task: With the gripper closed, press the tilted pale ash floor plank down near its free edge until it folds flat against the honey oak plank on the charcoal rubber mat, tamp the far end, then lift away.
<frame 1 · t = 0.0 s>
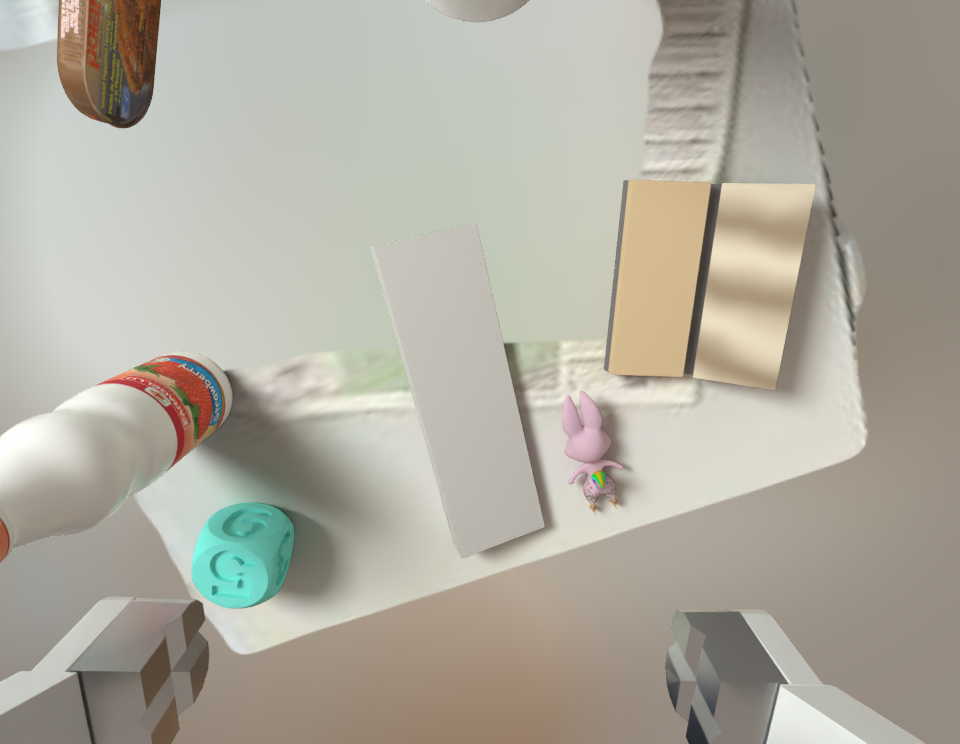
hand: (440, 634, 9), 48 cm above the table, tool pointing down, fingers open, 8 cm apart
fruit juice: (191, 391, 58), on the table
tin: (141, 44, 49), on the table
decorative molding: (463, 390, 60), on the table
ash plank: (749, 287, 53), point 3 cm above the table, hinge at 28.0°
laid floor: (695, 282, 56), on the table
rabbit figure: (586, 445, 61), on the table
decorative dice: (260, 531, 63), on the table
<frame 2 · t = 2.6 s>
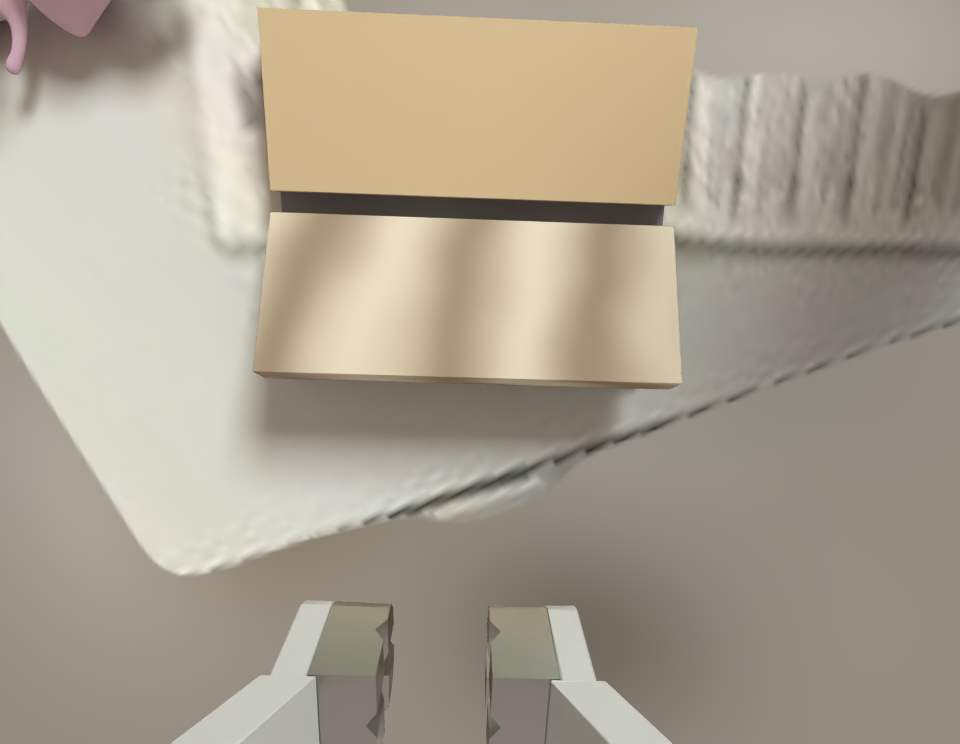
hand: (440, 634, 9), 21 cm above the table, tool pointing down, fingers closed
ash plank: (471, 301, 26), point 3 cm above the table, hinge at 28.0°
laid floor: (473, 215, 28), on the table
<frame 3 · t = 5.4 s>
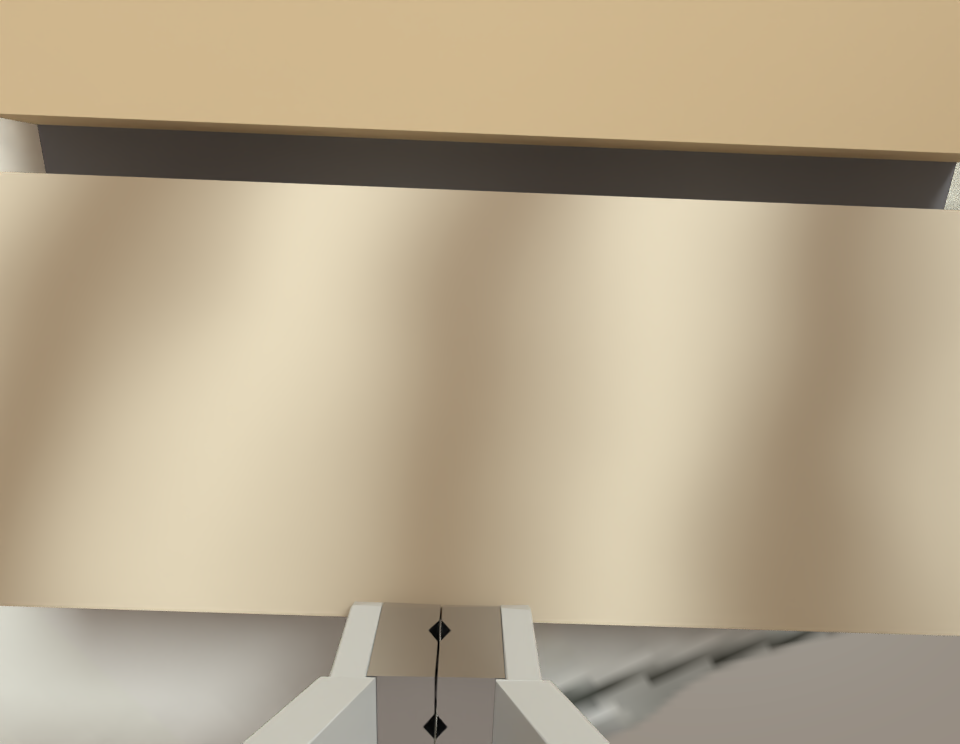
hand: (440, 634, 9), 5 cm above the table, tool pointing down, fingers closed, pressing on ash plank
ash plank: (493, 400, 10), point 3 cm above the table, hinge at 21.8°, touching gripper
laid floor: (498, 185, 12), on the table
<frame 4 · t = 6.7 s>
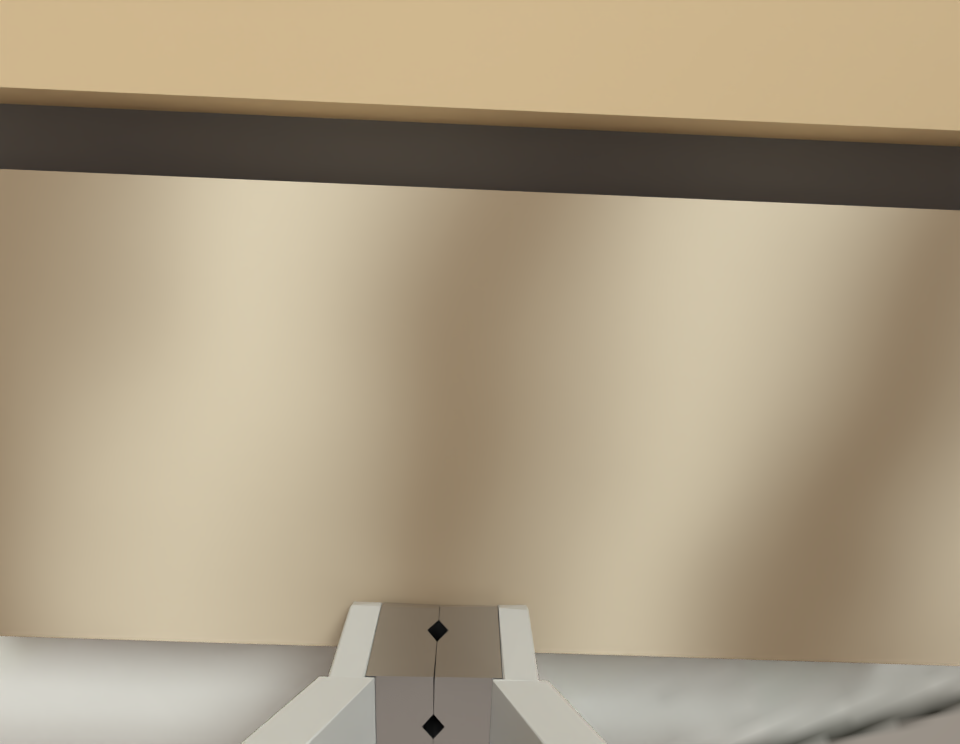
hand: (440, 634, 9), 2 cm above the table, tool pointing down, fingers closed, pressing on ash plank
ash plank: (495, 431, 9), point 1 cm above the table, hinge at 0.7°, touching gripper
laid floor: (504, 181, 9), on the table
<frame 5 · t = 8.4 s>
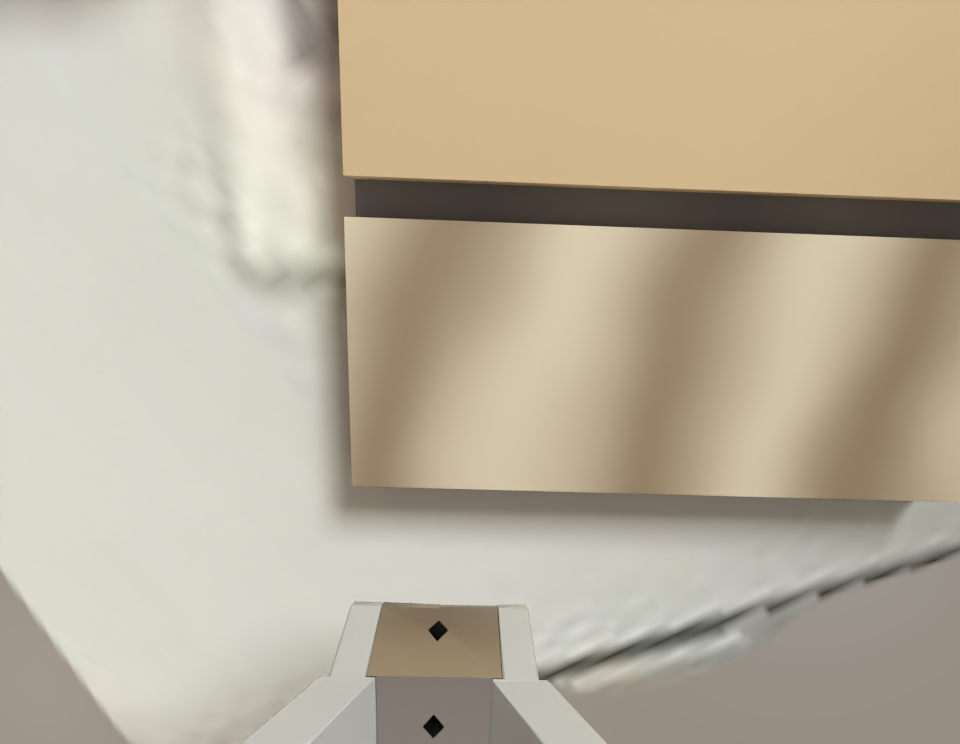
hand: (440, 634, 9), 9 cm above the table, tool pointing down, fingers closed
ash plank: (681, 364, 16), point 1 cm above the table, hinge at 0.6°
laid floor: (682, 221, 16), on the table
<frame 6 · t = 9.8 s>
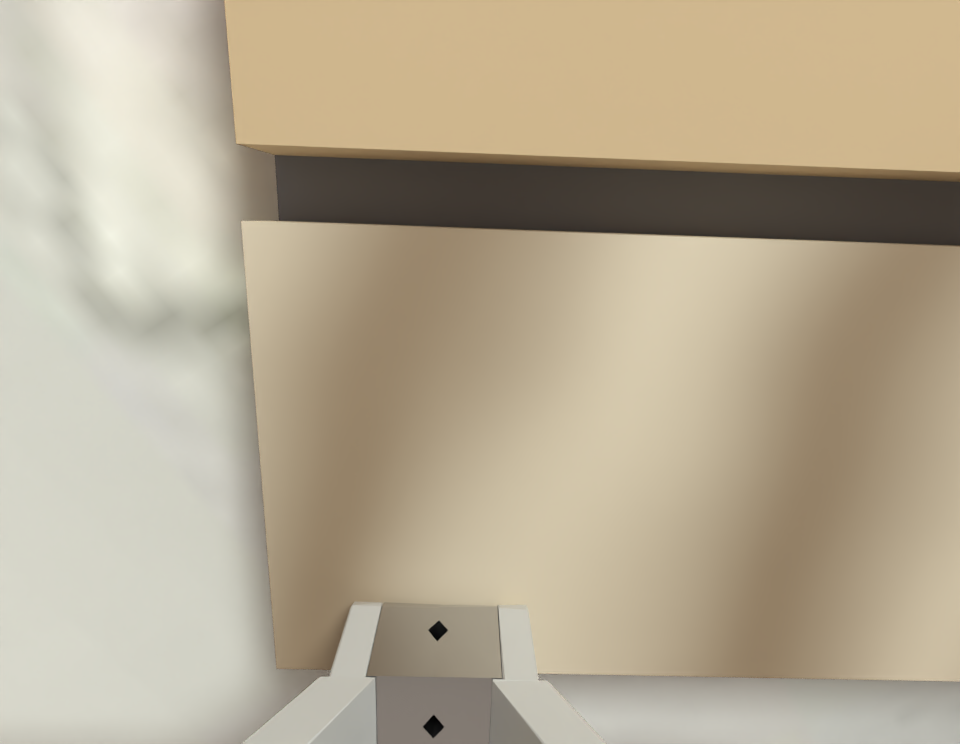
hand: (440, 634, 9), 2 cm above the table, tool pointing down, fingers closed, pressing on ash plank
ash plank: (826, 466, 10), point 1 cm above the table, hinge at 0.6°, touching gripper
laid floor: (823, 227, 10), on the table
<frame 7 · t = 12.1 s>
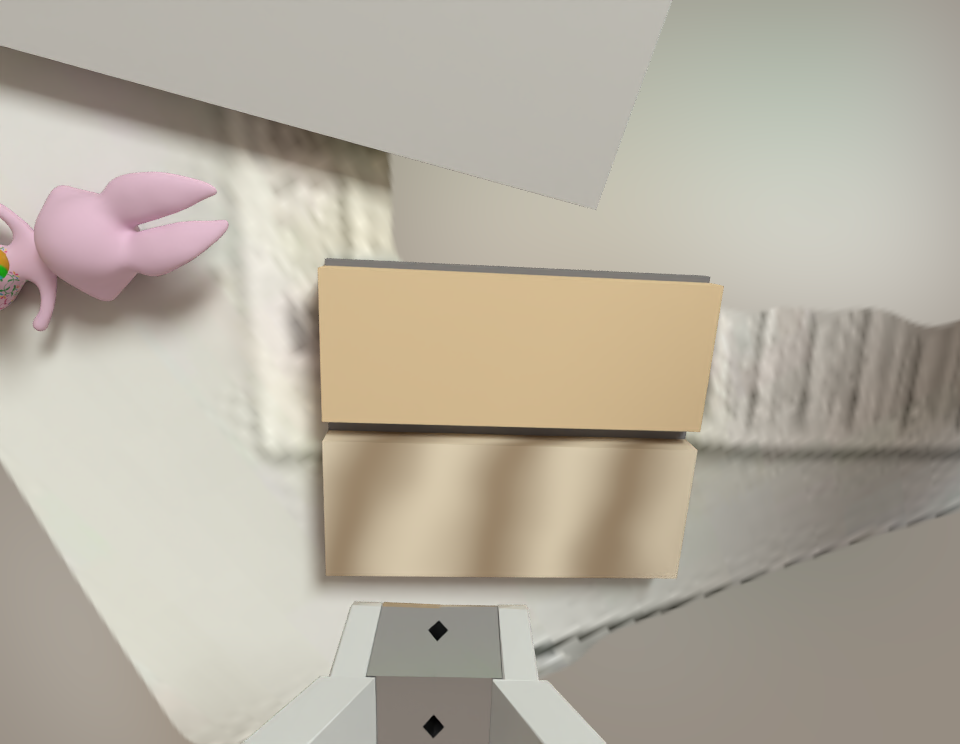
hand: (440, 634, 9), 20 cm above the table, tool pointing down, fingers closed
ash plank: (507, 506, 29), point 1 cm above the table, hinge at -0.1°
laid floor: (509, 427, 29), on the table
rabbit figure: (96, 247, 26), on the table
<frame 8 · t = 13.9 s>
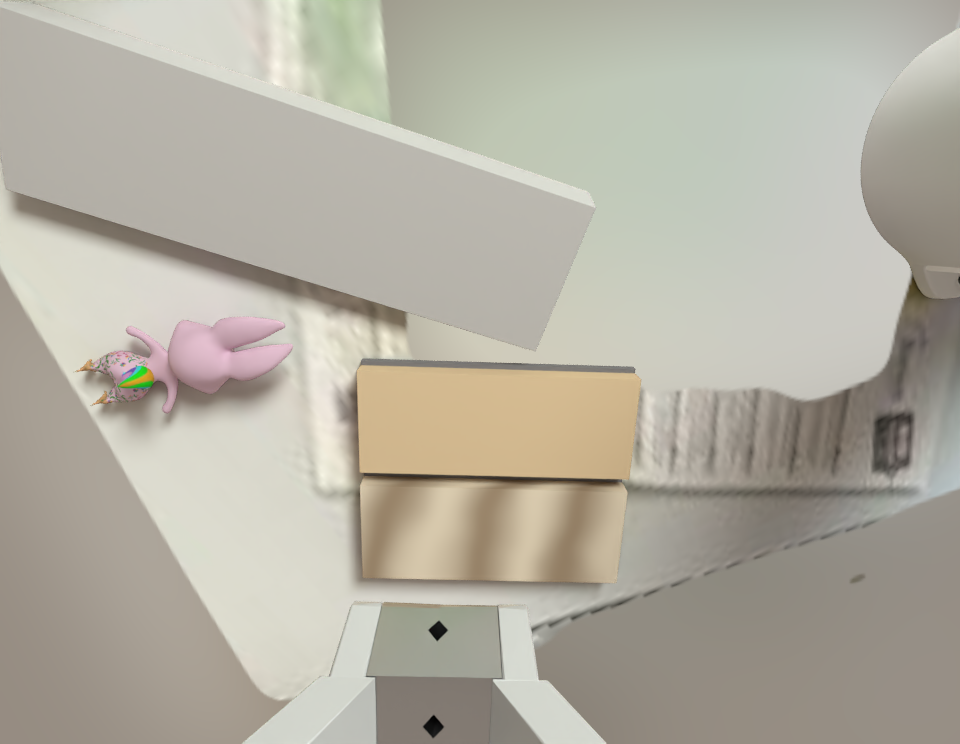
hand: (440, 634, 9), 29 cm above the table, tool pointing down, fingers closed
decorative molding: (312, 191, 36), on the table
ash plank: (491, 530, 40), point 1 cm above the table, hinge at -0.1°
laid floor: (493, 472, 41), on the table
rabbit figure: (201, 353, 38), on the table
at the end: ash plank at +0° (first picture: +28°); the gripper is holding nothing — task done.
